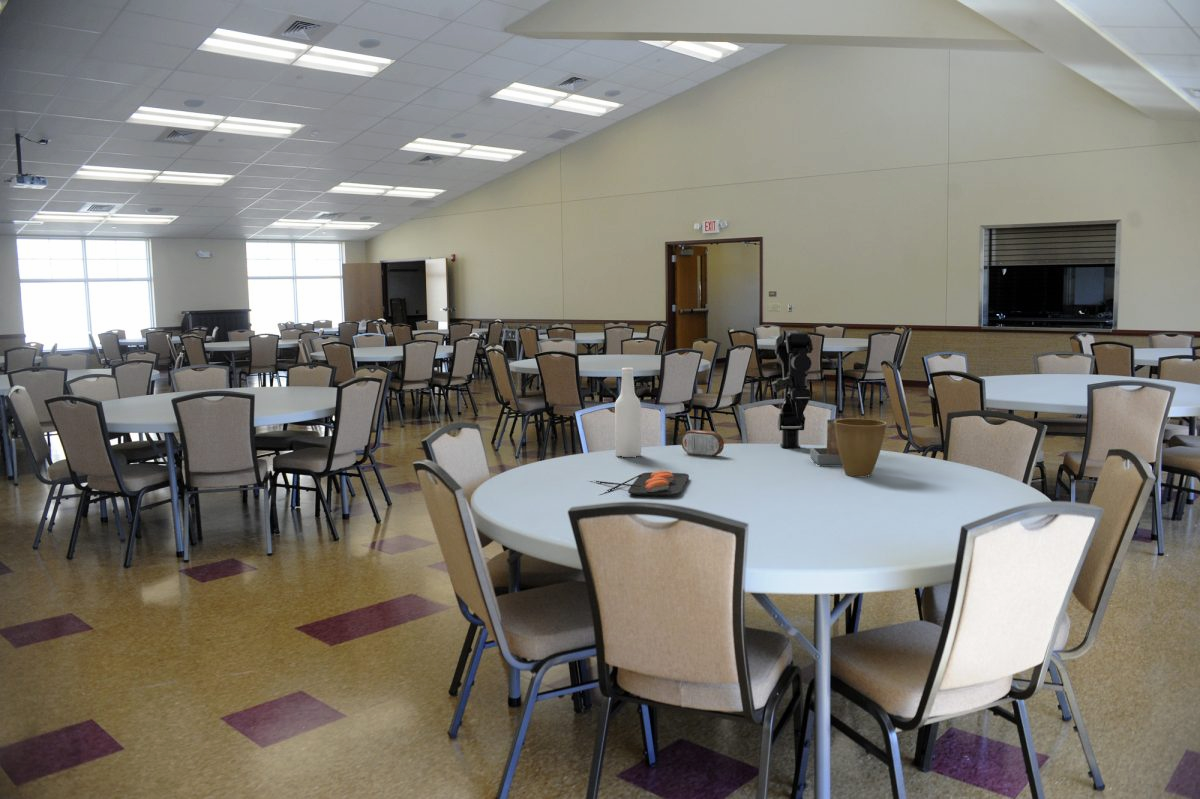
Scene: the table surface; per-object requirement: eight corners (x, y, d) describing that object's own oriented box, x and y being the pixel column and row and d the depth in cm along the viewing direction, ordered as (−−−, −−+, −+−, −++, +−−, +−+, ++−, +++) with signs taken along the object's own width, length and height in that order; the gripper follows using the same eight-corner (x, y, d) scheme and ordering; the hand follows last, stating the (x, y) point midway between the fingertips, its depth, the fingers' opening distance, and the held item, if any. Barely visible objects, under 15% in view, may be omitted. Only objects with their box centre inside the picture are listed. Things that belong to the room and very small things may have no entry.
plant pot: (833, 478, 268) (834, 424, 266) (833, 469, 282) (833, 417, 281) (886, 480, 264) (887, 425, 263) (883, 470, 279) (884, 418, 277)
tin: (724, 456, 308) (724, 431, 307) (720, 457, 306) (720, 432, 305) (684, 452, 316) (684, 428, 315) (680, 454, 314) (680, 429, 313)
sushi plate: (679, 501, 244) (679, 486, 243) (569, 497, 250) (569, 483, 249) (690, 479, 272) (690, 466, 272) (591, 476, 278) (591, 464, 278)
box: (810, 458, 302) (810, 447, 301) (852, 458, 301) (852, 447, 300) (817, 465, 288) (817, 455, 288) (861, 465, 287) (861, 454, 287)
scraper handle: (826, 459, 296) (827, 419, 294) (837, 458, 297) (838, 419, 295) (833, 461, 292) (833, 421, 290) (844, 460, 293) (844, 420, 291)
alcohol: (629, 452, 318) (628, 366, 314) (646, 455, 311) (645, 367, 308) (610, 455, 312) (609, 368, 309) (627, 458, 305) (626, 369, 302)
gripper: (769, 368, 316) (769, 412, 318) (777, 372, 298) (776, 419, 300) (802, 367, 316) (801, 412, 317) (811, 372, 297) (811, 419, 299)
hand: (797, 416), depth 308 cm, fingers open, 9 cm apart
